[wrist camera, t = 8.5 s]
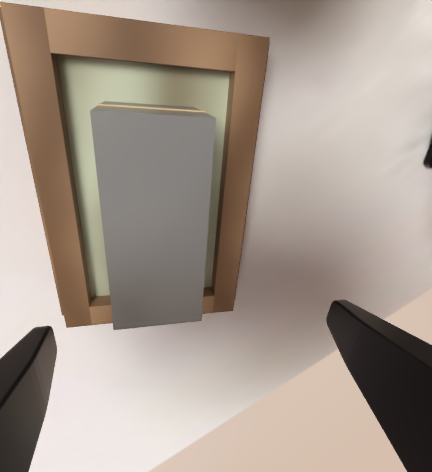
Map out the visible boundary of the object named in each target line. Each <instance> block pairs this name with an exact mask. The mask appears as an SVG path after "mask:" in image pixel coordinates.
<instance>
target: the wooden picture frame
mask: <svg viewBox="0 0 432 472" xmlns="http://www.w3.org/2000/svg"><path fill="white" fill-rule="evenodd" d="M0 6H1V7H0V21H1V25H2V30H3V35H4V40H5V44H6V49H7V54H8V59H9V64H10V68H11V73H12V78H13V83H14V87H15V92H16V97H17V102H18V107H19V111H20V116H21V121H22V126H23V130H24V135H25V140H26V145H27V150H28V154H29V159H30V164H31V169H32V173H33V178H34V183H35V188H36V193H37V197H38V202H39V207H40V212H41V216H42V221H43V226H44V231H45V236H46V240H47V245H48V250H49V255H50V259H51V264H52V269H53V274H54V279H55V283H56V288H57V293H58V298H59V302H60V307H61V312H62V315H64V317H65V322H66V327H67V328H68V327H78V326H88V325H97V324H107V323H113V319H112V310H111V301H110V292H109V282H108V273H107V264H106V255H105V246H104V236H103V227H102V218H101V209H100V200H99V190H98V181H97V172H96V163H95V153H94V144H93V135H92V126H91V117H90V110H91V109H93V108H94V107H96V104H97V103H99V104H101V103H102V102H104V101H111V102H126V103H140V104H155V105H170V106H184V107H195V108H197V109H199V110H204V111H206V113H207V114H209V115H211V116H213V117H215V118H216V126H215V140H214V153H213V167H212V181H211V195H210V209H209V222H208V236H207V250H206V264H205V278H204V291H203V305H202V314H206V313H215V312H225V311H233V307H234V299H235V295H236V288H237V280H238V273H239V265H240V258H241V250H242V243H243V236H244V228H245V221H246V213H247V206H248V198H249V191H250V184H251V176H252V169H253V161H254V154H255V147H256V139H257V132H258V124H259V117H260V109H261V102H262V95H263V87H264V80H265V72H266V65H267V57H268V50H269V43H270V42H269V38H268V37H260V36H253V35H245V34H238V33H230V32H223V31H215V30H208V29H200V28H193V27H185V26H178V25H170V24H163V23H155V22H148V21H140V20H133V19H125V18H118V17H110V16H103V15H95V14H88V13H80V12H73V11H65V10H58V9H50V8H43V7H35V6H28V5H20V4H13V3H5V2H0Z"/></svg>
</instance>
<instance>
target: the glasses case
mask: <svg viewBox="0 0 432 472" xmlns="http://www.w3.org/2000/svg"><path fill="white" fill-rule="evenodd" d="M90 117H91V126H92V135H93V144H94V153H95V163H96V172H97V181H98V190H99V200H100V209H101V218H102V227H103V236H104V246H105V255H106V264H107V273H108V282H109V292H110V301H111V310H112V319H113V329H114V330H118V329H127V328H137V327H146V326H156V325H165V324H174V323H184V322H193V321H201V319H202V305H203V291H204V278H205V264H206V250H207V236H208V222H209V209H210V195H211V181H212V167H213V153H214V140H215V126H216V118H215V117H213V116H211V115H209V114H207V113H206V111H204V110H199V109H197V108H195V107H184V106H170V105H155V104H140V103H126V102H111V101H104V102H102V103H101V104H99V103H97V104H96V107H94V108H93V109H91V110H90Z"/></svg>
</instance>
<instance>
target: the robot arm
mask: <svg viewBox="0 0 432 472" xmlns="http://www.w3.org/2000/svg"><path fill="white" fill-rule="evenodd" d="M425 165H426V166H428V167H432V145H431V148H430V150H429V153H428V155H427V158H426V160H425ZM327 325H328V327H329V329H330V332H331V334H332V336H333V338H334V340H335V343H336V345H337V347H338V349H339V351H340V353H341V355H342V358H343V360H344V362H345V364H346V366H347V367H348V370H349V371H350V373H351V375H352V377H353V378H354V380H355V382H356V384H357V385H358V387H359V389H360V390H361V392H362V394H363V396H364V397H365V399H366V401H367V403H368V404H369V406H370V408H371V409H372V411H373V413H374V415H375V416H376V418H377V420H378V422H379V423H380V425H381V427H382V429H383V430H384V432H385V433H386V435H387V437H388V439H389V440H390V443H391V444H392V446H393V448H394V449H395V451H396V453H397V455H398V456H399V458H400V460H401V461H402V463H403V465H404V467H405V469H406V470H407V472H432V345H430V344H428V343H426V342H425V341H423V340H421V339H419V338H417V337H415V336H413V335H411V334H409V333H407V332H406V331H404V330H402V329H400V328H398V327H396V326H394V325H392V324H390V323H388V322H387V321H385V320H383V319H381V318H379V317H377V316H375V315H373V314H371V313H369V312H367V311H366V310H364V309H362V308H360V307H358V306H356V305H354V304H352V303H350V302H348V301H346V300H335V301H333V302H332V304H331V306H330V309H329V312H328V315H327ZM56 355H57V346H56V341H55V337H54V332H53V329H52V327H51V326H42V327H35V328H34V329H32V330H31V331H30V332H29V333H28V334H27V335H26V336H25V337H23V338H22V339H21V340H20V341H19V342H18V343H17V344H16V345H15V346H14V347H13V348H11V349H10V350H9V351H8V352H7V353H6V354H5V355H4V356H3V357H2V358H1V359H0V472H28V471H29V468H30V465H31V461H32V458H33V455H34V451H35V448H36V444H37V441H38V438H39V434H40V431H41V428H42V424H43V421H44V417H45V414H46V410H47V405H48V400H49V395H50V389H51V383H52V378H53V372H54V366H55V361H56Z"/></svg>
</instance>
